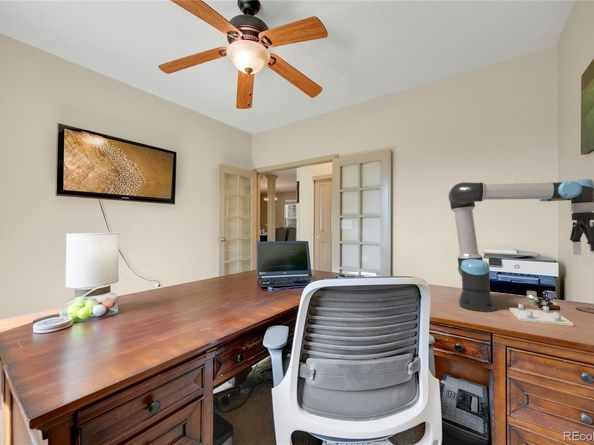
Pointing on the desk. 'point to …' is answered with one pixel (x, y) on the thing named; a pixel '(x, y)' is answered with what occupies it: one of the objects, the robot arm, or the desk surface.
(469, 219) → the robot arm
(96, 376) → the desk surface
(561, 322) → the mounting plate
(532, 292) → the valve
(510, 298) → the desk surface
